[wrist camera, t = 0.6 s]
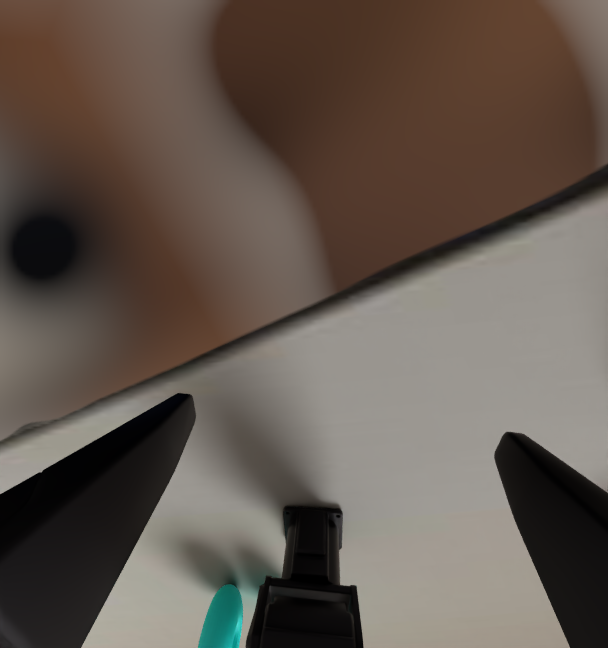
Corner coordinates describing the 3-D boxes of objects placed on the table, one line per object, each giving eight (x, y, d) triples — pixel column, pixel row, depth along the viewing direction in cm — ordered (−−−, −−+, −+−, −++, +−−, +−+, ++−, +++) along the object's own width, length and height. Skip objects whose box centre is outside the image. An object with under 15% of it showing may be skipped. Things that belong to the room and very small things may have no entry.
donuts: (293, 614, 41) (283, 733, 32) (225, 606, 41) (196, 720, 32) (293, 574, 37) (281, 697, 28) (218, 566, 38) (182, 683, 28)
